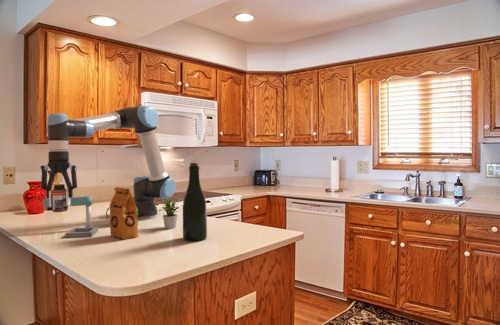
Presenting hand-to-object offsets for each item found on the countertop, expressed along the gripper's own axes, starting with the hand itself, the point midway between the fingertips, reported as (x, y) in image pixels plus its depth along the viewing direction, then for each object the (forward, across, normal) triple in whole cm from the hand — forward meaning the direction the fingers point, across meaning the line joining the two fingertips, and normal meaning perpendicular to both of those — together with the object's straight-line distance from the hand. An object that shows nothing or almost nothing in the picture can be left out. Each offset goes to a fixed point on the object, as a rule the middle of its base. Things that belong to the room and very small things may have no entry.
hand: (60, 205), depth 148 cm
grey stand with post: (+15, -5, -16) cm, 23 cm away
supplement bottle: (+3, 0, 0) cm, 3 cm away
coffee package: (+16, -25, -4) cm, 30 cm away
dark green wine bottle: (+16, -56, +6) cm, 59 cm away
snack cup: (+16, -19, -32) cm, 40 cm away
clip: (+3, +3, -21) cm, 22 cm away
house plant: (+16, -43, -18) cm, 49 cm away
